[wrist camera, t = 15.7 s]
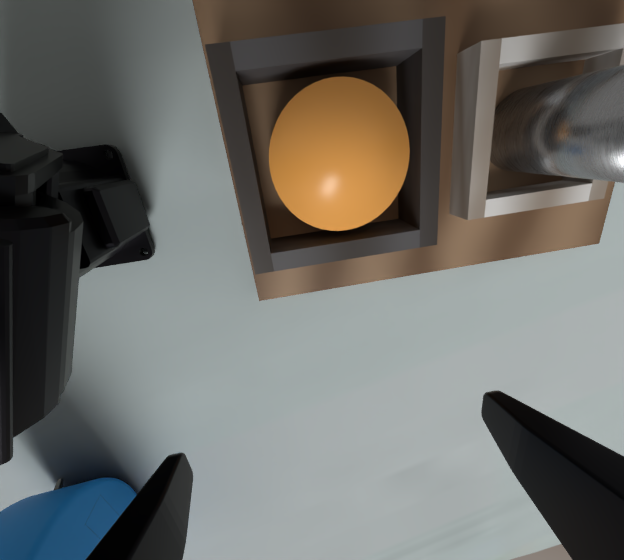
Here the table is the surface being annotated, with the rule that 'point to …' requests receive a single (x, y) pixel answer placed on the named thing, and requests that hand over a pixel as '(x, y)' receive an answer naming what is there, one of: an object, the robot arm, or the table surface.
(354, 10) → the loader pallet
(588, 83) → the cylinder
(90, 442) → the table surface
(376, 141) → the button
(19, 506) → the alarm clock
